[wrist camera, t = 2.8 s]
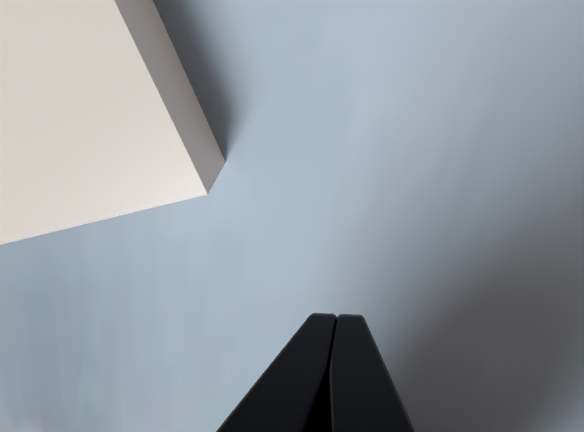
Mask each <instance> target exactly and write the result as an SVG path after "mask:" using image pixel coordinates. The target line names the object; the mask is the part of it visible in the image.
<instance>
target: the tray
mask: <svg viewBox="0 0 584 432" xmlns="http://www.w3.org/2000/svg"><path fill="white" fill-rule="evenodd" d="M224 164H225V159H224V157H223V155H222V153H221V150H220V148H219V146H218V144H217V142H216V139H215V137H214V135H213V133H212V130H211V128H210V126H209V124H208V122H207V119H206V117H205V115H204V113H203V110H202V108H201V106H200V104H199V102H198V99H197V97H196V95H195V93H194V91H193V88H192V86H191V84H190V82H189V79H188V77H187V75H186V73H185V71H184V68H183V66H182V64H181V62H180V59H179V57H178V55H177V53H176V51H175V48H174V46H173V44H172V42H171V39H170V37H169V35H168V33H167V31H166V28H165V26H164V24H163V22H162V20H161V17H160V15H159V13H158V11H157V8H156V6H155V4H154V2H153V0H0V245H1V244H5V243H9V242H13V241H17V240H21V239H26V238H30V237H34V236H38V235H42V234H46V233H50V232H54V231H58V230H63V229H67V228H71V227H75V226H79V225H83V224H87V223H91V222H96V221H100V220H104V219H108V218H112V217H116V216H120V215H124V214H129V213H133V212H137V211H141V210H145V209H149V208H153V207H157V206H161V205H166V204H170V203H174V202H178V201H182V200H186V199H190V198H194V197H199V196H203V195H207V194H208V193H209V191H210V189H211V187H212V186H213V184H214V182H215V180H216V178H217V177H218V175H219V173H220V171H221V169H222V168H223V166H224Z"/></svg>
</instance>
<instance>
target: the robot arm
mask: <svg viewBox="0 0 584 432" xmlns="http://www.w3.org/2000/svg"><path fill="white" fill-rule="evenodd" d="M216 432H415V431H414V429H413V426H412V424H411V422H410V420H409V417H408V415H407V413H406V411H405V408H404V406H403V404H402V402H401V399H400V397H399V395H398V393H397V390H396V388H395V386H394V384H393V381H392V379H391V377H390V375H389V372H388V370H387V368H386V366H385V363H384V361H383V359H382V357H381V354H380V352H379V350H378V348H377V346H376V343H375V341H374V339H373V337H372V334H371V332H370V330H369V328H368V325H367V323H366V321H365V319H364V317H363V316H361V315H353V314H340V315H339V316H338V317H336V315H334V314H327V313H313V314H311V315H310V316H309V317H308V318H307V320H306V321H305V322H304V323H303V325H302V326H301V327H300V328H299V330H298V331H297V332H296V333H295V334H294V336H293V337H292V338H291V339H290V341H289V342H288V343H287V344H286V346H285V347H284V348H283V349H282V351H281V352H280V353H279V354H278V356H277V357H276V358H275V359H274V361H273V362H272V363H271V364H270V365H269V367H268V368H267V369H266V370H265V372H264V373H263V374H262V375H261V377H260V378H259V379H258V380H257V382H256V383H255V384H254V385H253V387H252V388H251V389H250V390H249V391H248V393H247V394H246V395H245V396H244V398H243V399H242V400H241V401H240V403H239V404H238V405H237V406H236V408H235V409H234V410H233V411H232V413H231V414H230V415H229V416H228V417H227V419H226V420H225V421H224V422H223V424H222V425H221V426H220V427H219V429H218V430H217V431H216Z"/></svg>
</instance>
